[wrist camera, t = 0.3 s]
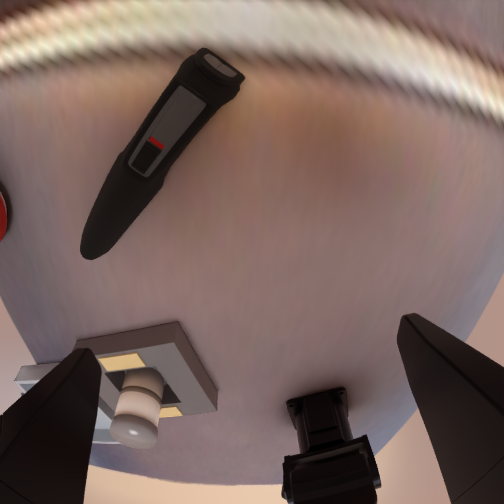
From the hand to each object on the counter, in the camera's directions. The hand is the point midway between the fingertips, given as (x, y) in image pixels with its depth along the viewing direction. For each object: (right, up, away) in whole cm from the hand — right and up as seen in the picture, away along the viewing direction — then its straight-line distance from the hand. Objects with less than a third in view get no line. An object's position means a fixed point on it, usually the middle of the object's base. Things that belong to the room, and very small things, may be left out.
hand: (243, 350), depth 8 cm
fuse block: (-10, -9, +20) cm, 24 cm away
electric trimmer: (-6, +9, +12) cm, 16 cm away
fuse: (-10, -9, +20) cm, 24 cm away
